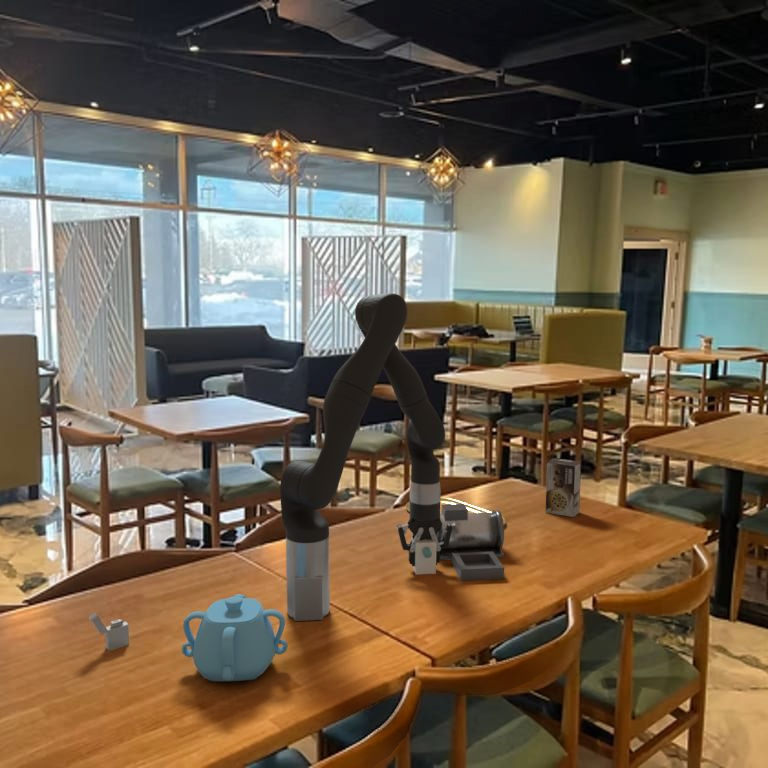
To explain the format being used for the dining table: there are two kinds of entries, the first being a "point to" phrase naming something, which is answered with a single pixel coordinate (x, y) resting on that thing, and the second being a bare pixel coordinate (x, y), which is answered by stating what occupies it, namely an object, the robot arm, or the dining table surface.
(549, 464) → the coffee box
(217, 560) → the dining table surface
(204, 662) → the decorative pot
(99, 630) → the lighter
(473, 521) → the motor
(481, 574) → the tray
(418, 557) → the white box with button
